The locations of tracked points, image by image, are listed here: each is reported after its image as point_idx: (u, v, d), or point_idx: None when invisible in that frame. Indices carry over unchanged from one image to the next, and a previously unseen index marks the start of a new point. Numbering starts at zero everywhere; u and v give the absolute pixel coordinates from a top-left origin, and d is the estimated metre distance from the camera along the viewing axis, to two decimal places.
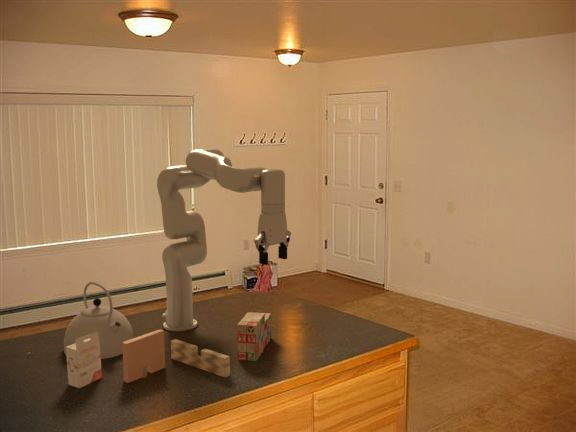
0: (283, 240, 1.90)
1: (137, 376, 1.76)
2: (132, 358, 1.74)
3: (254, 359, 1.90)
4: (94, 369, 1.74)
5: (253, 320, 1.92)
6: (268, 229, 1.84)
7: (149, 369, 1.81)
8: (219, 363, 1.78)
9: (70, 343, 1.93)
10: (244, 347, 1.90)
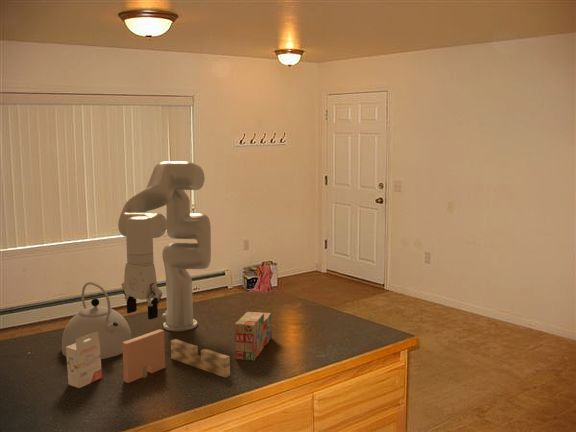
0: None
1: (137, 376, 1.76)
2: (132, 358, 1.74)
3: (252, 358, 1.90)
4: (94, 369, 1.74)
5: (252, 319, 1.93)
6: None
7: (149, 369, 1.81)
8: (219, 363, 1.78)
9: (68, 343, 1.93)
10: (242, 346, 1.90)
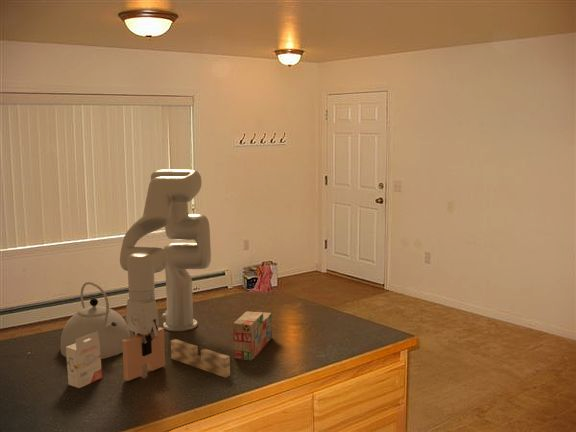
0: None
1: (137, 374, 1.76)
2: (132, 356, 1.74)
3: (249, 358, 1.90)
4: (94, 369, 1.74)
5: (250, 319, 1.93)
6: (157, 314, 1.76)
7: (149, 367, 1.81)
8: (219, 363, 1.78)
9: (66, 343, 1.93)
10: (240, 345, 1.91)
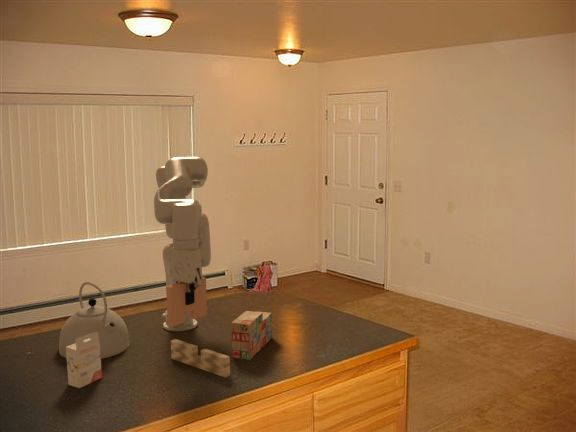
0: None
1: (180, 321, 1.78)
2: (175, 302, 1.76)
3: (248, 357, 1.91)
4: (94, 369, 1.74)
5: (249, 318, 1.93)
6: (201, 264, 1.78)
7: (191, 315, 1.83)
8: (219, 363, 1.78)
9: (65, 343, 1.93)
10: (238, 345, 1.91)
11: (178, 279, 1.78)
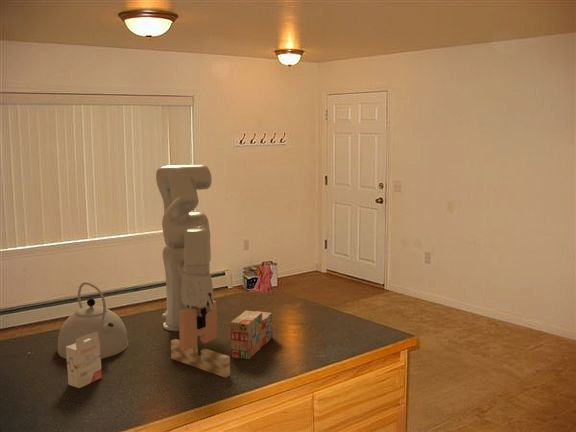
0: None
1: (192, 345, 1.81)
2: (188, 327, 1.79)
3: (246, 357, 1.91)
4: (94, 369, 1.74)
5: (248, 318, 1.94)
6: (212, 288, 1.80)
7: (202, 339, 1.86)
8: (219, 363, 1.78)
9: (63, 343, 1.93)
10: (237, 344, 1.92)
11: (190, 304, 1.80)
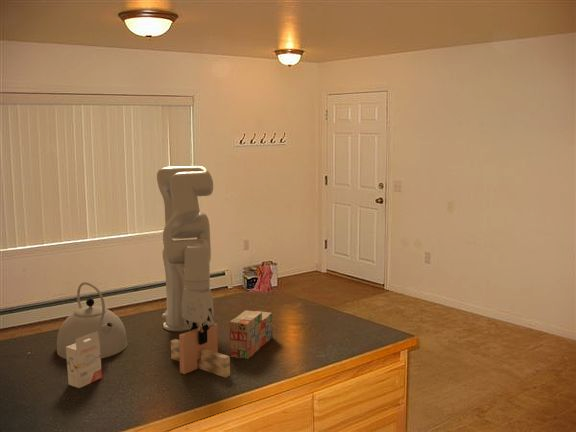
0: None
1: (192, 368, 1.82)
2: (188, 350, 1.80)
3: (245, 357, 1.91)
4: (94, 369, 1.74)
5: (247, 318, 1.94)
6: None
7: None
8: (219, 363, 1.78)
9: (62, 343, 1.93)
10: (236, 344, 1.92)
11: (190, 319, 1.81)
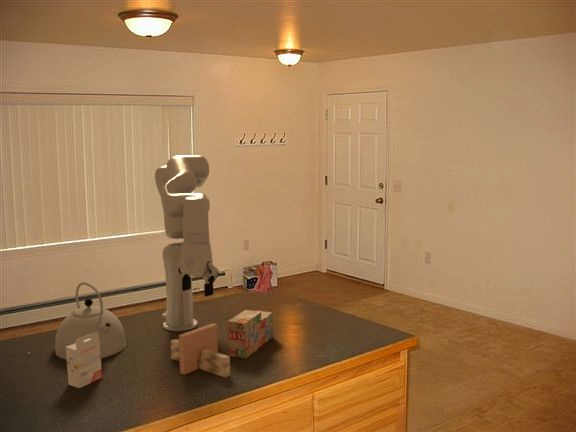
0: None
1: (192, 368, 1.82)
2: (188, 350, 1.80)
3: (243, 356, 1.92)
4: (94, 369, 1.74)
5: (246, 317, 1.94)
6: None
7: None
8: (219, 363, 1.78)
9: (60, 343, 1.92)
10: (234, 343, 1.92)
11: (189, 273, 1.79)
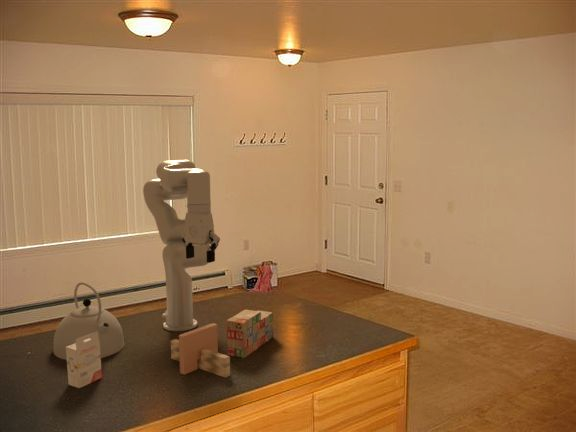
0: None
1: (192, 368, 1.82)
2: (188, 350, 1.80)
3: (242, 356, 1.92)
4: (94, 369, 1.74)
5: (244, 317, 1.95)
6: (213, 227, 1.94)
7: None
8: (219, 363, 1.78)
9: (59, 343, 1.92)
10: (232, 343, 1.93)
11: (192, 241, 1.94)
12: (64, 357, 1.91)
